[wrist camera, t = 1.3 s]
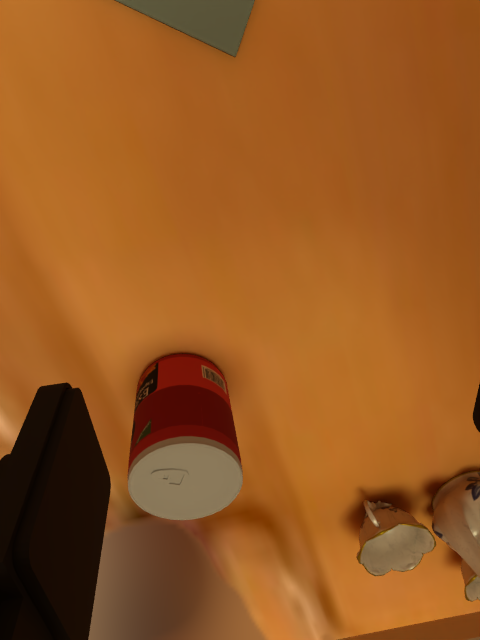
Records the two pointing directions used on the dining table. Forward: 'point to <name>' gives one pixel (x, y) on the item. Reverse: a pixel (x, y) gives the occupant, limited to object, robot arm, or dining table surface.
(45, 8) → the dining table surface
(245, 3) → the mat
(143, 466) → the canned food
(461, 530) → the chinaware
